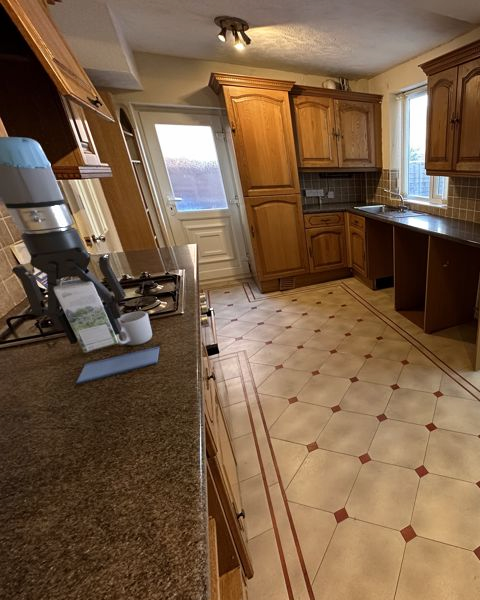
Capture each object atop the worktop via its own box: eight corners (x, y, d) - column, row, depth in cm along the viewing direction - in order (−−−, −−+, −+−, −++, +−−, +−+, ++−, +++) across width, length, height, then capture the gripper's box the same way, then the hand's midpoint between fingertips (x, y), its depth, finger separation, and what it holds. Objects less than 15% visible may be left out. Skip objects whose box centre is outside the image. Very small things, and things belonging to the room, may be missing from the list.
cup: (135, 353, 89) (125, 328, 86) (107, 354, 89) (95, 328, 86) (162, 334, 99) (153, 310, 96) (136, 334, 99) (127, 311, 96)
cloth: (76, 384, 77) (75, 382, 77) (85, 365, 84) (85, 364, 84) (157, 363, 85) (156, 362, 84) (159, 347, 92) (158, 346, 92)
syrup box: (116, 334, 74) (90, 274, 68) (119, 344, 70) (92, 281, 64) (82, 343, 70) (52, 281, 64) (84, 354, 66) (52, 289, 61)
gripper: (-41, 240, 52) (27, 358, 62) (111, 226, 62) (150, 331, 71) (-18, 232, 58) (41, 341, 68) (117, 220, 67) (153, 318, 77)
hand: (97, 336), depth 69 cm, fingers closed on syrup box, 6 cm apart
